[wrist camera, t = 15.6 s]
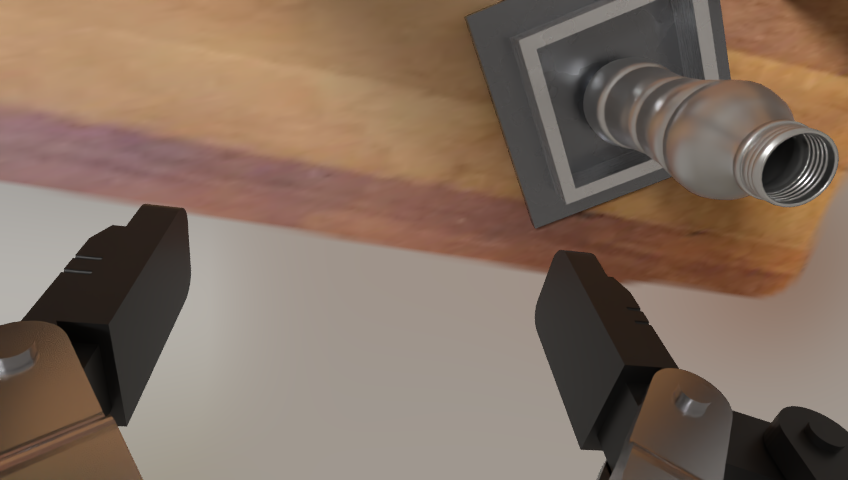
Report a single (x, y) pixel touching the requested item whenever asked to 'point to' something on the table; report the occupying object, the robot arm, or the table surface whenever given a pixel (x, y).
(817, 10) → the table surface
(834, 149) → the silver metal bottle
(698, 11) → the plate
